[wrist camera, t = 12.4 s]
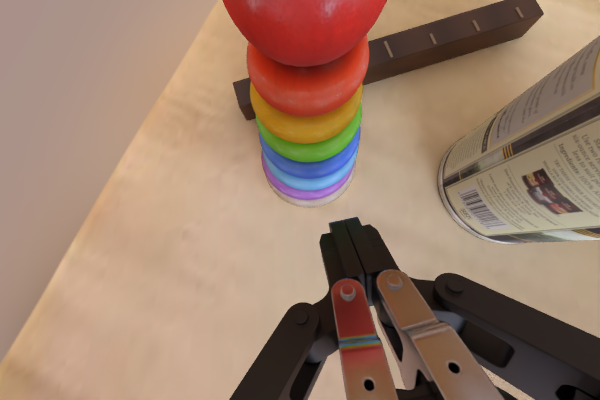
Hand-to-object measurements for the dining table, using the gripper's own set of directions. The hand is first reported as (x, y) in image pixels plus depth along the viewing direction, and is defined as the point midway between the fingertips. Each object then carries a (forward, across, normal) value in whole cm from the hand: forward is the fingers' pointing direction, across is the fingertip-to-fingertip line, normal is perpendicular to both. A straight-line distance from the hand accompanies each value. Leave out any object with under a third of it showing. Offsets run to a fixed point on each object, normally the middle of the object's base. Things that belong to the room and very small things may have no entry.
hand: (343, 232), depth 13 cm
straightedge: (+17, -8, -5) cm, 19 cm away
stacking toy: (+11, 0, +1) cm, 11 cm away
